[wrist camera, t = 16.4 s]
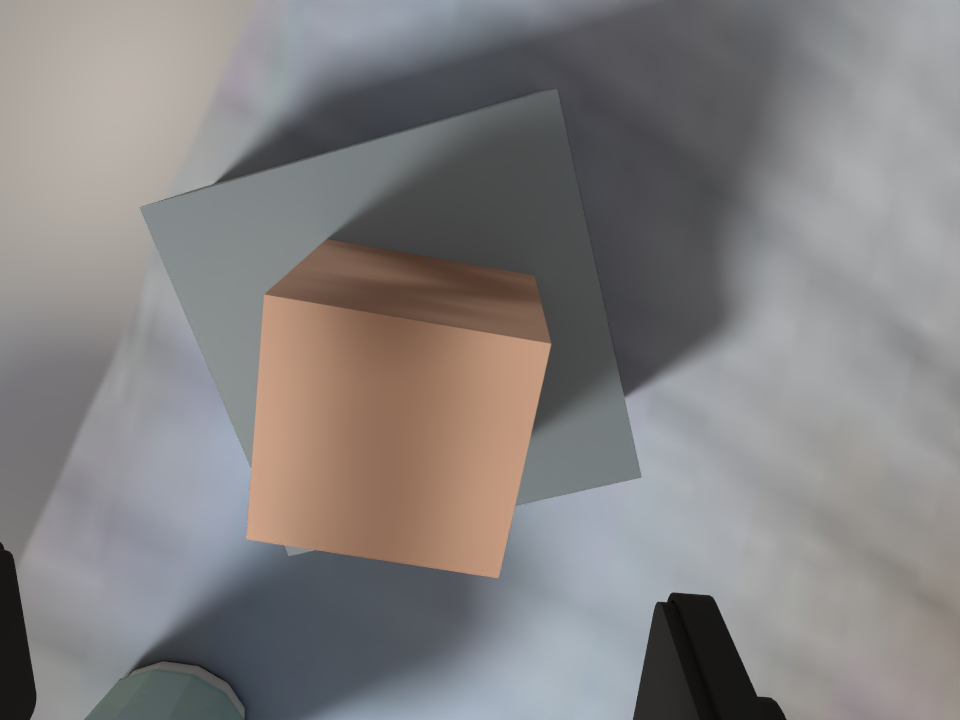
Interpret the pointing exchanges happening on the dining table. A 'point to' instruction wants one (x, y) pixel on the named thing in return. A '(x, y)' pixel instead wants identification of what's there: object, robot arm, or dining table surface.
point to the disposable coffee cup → (169, 696)
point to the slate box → (427, 232)
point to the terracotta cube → (395, 407)
